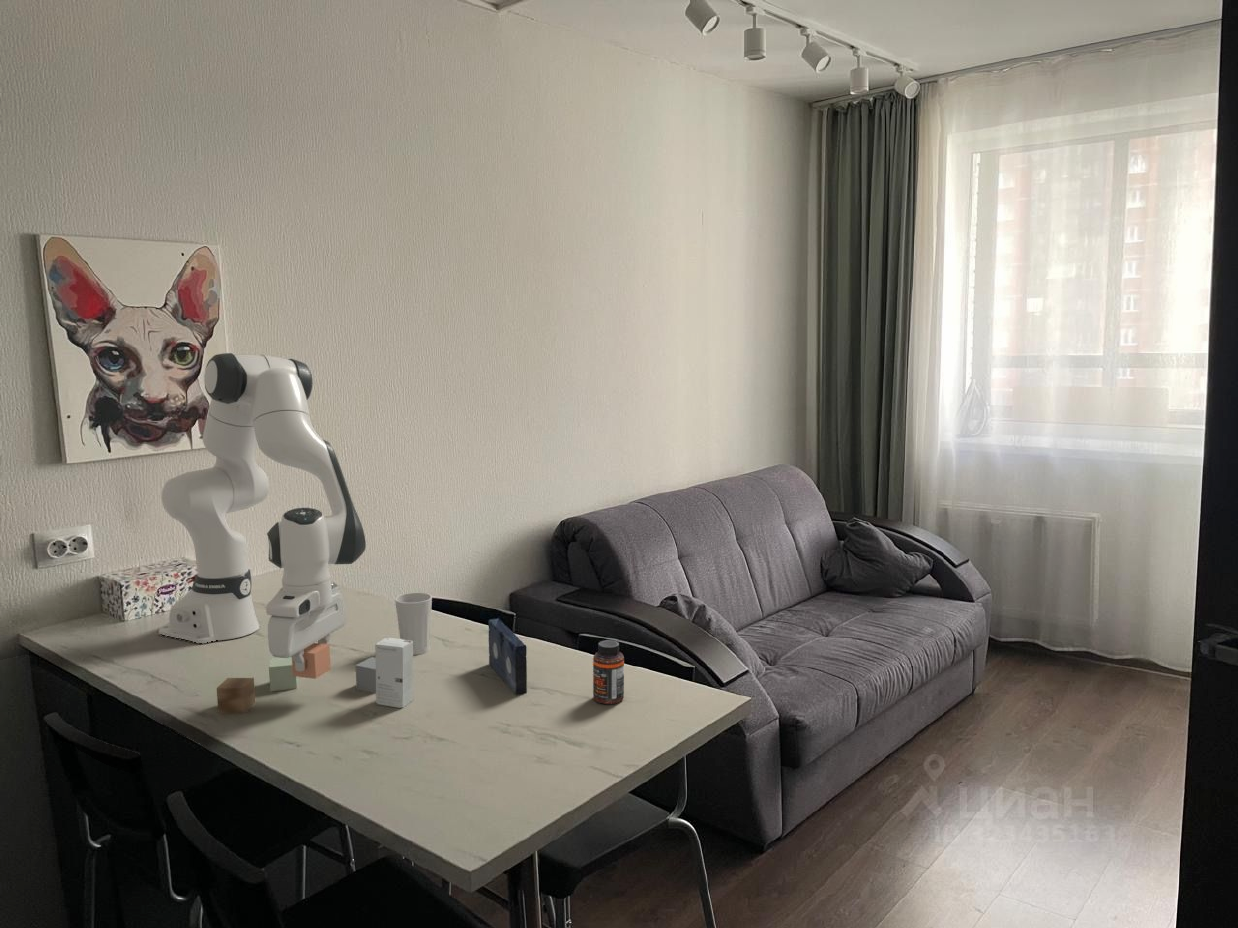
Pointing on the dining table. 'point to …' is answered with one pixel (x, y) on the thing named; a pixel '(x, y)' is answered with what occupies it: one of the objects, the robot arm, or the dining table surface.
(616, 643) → the supplement bottle
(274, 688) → the sage cube
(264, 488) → the robot arm
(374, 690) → the slate cube
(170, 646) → the dining table surface
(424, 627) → the cup
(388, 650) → the skincare box
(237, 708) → the walnut cube
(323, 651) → the terracotta cube
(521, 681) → the vhs cassette tape
